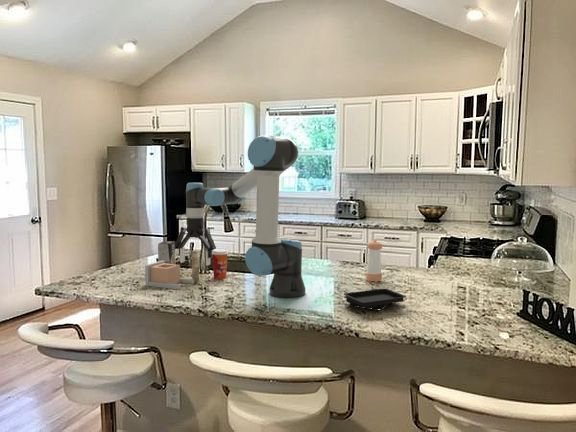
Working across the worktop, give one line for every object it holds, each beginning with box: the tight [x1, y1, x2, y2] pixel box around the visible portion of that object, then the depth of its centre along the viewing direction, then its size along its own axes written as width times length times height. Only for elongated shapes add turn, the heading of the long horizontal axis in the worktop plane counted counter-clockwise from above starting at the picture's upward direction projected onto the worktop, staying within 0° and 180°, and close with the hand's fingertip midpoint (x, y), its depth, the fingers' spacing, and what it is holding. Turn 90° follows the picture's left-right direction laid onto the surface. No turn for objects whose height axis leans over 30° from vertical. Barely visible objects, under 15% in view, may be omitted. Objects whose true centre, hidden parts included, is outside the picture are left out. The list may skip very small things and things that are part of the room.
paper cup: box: [212, 248, 229, 280], centre depth 221 cm, size 8×8×14 cm
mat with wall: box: [144, 260, 195, 290], centre depth 211 cm, size 19×20×10 cm
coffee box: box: [157, 240, 176, 264], centre depth 231 cm, size 9×6×16 cm
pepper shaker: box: [365, 239, 383, 282], centre depth 222 cm, size 7×7×19 cm
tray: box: [343, 288, 407, 310], centre depth 182 cm, size 30×23×5 cm
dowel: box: [191, 250, 200, 283], centre depth 214 cm, size 3×3×14 cm
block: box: [151, 263, 181, 285], centre depth 208 cm, size 9×9×8 cm
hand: (195, 263), depth 214 cm, fingers open, 13 cm apart
